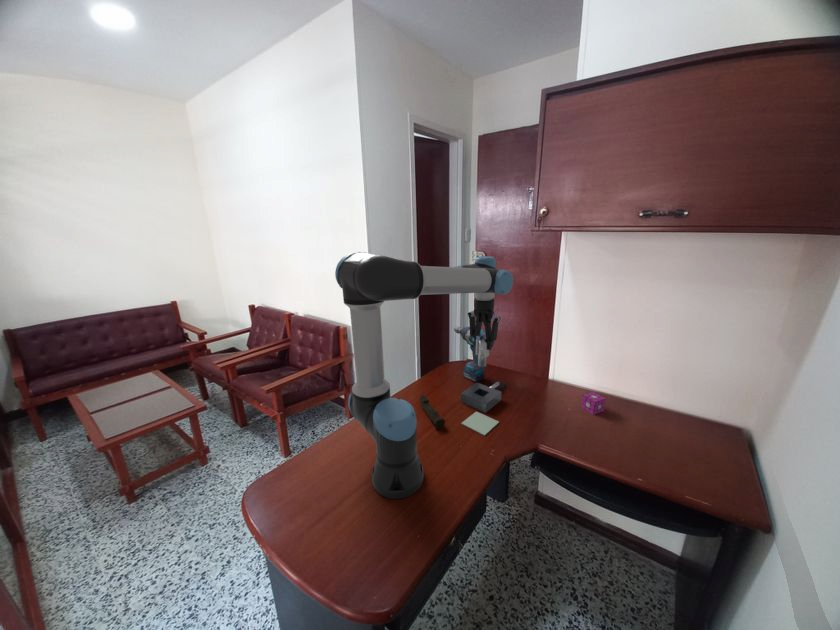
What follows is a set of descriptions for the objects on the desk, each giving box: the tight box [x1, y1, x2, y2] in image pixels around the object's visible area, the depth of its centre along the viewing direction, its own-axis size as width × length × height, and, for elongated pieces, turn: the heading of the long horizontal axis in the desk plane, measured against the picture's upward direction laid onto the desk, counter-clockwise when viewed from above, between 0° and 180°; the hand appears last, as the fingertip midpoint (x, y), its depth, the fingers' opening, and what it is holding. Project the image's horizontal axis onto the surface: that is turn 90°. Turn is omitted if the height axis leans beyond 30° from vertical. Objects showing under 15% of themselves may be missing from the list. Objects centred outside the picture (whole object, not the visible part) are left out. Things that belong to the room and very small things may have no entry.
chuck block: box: [460, 381, 502, 414], centre depth 131 cm, size 20×12×4 cm, turn 137°
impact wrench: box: [453, 325, 495, 383], centre depth 146 cm, size 8×23×25 cm, turn 40°
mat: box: [460, 411, 500, 436], centre depth 115 cm, size 10×10×1 cm
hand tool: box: [419, 394, 446, 430], centre depth 121 cm, size 19×4×5 cm, turn 20°
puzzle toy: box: [580, 391, 606, 416], centre depth 121 cm, size 6×6×6 cm
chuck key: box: [476, 331, 487, 368], centre depth 123 cm, size 7×3×14 cm, turn 137°
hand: (482, 355), depth 123 cm, fingers closed on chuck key, 3 cm apart
